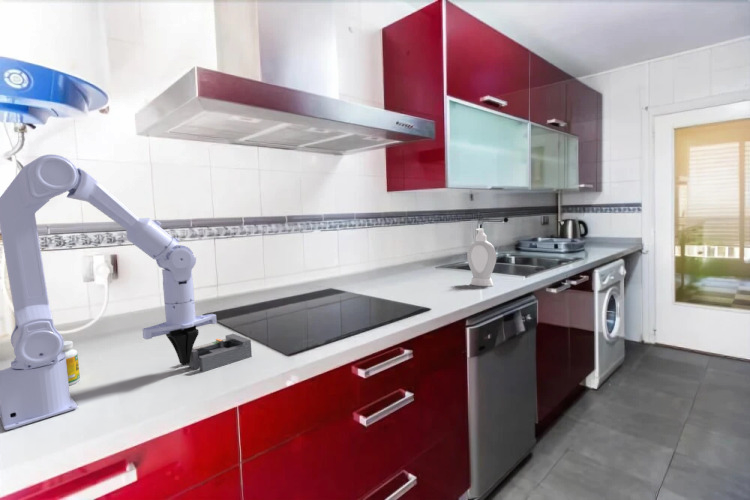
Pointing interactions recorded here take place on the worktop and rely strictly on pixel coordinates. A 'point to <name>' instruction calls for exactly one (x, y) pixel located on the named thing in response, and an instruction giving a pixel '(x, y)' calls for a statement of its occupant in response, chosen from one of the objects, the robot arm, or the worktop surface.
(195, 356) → the grey hook
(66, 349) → the supplement bottle
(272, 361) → the worktop surface
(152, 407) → the worktop surface
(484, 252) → the soap bottle
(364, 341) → the worktop surface
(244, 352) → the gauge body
